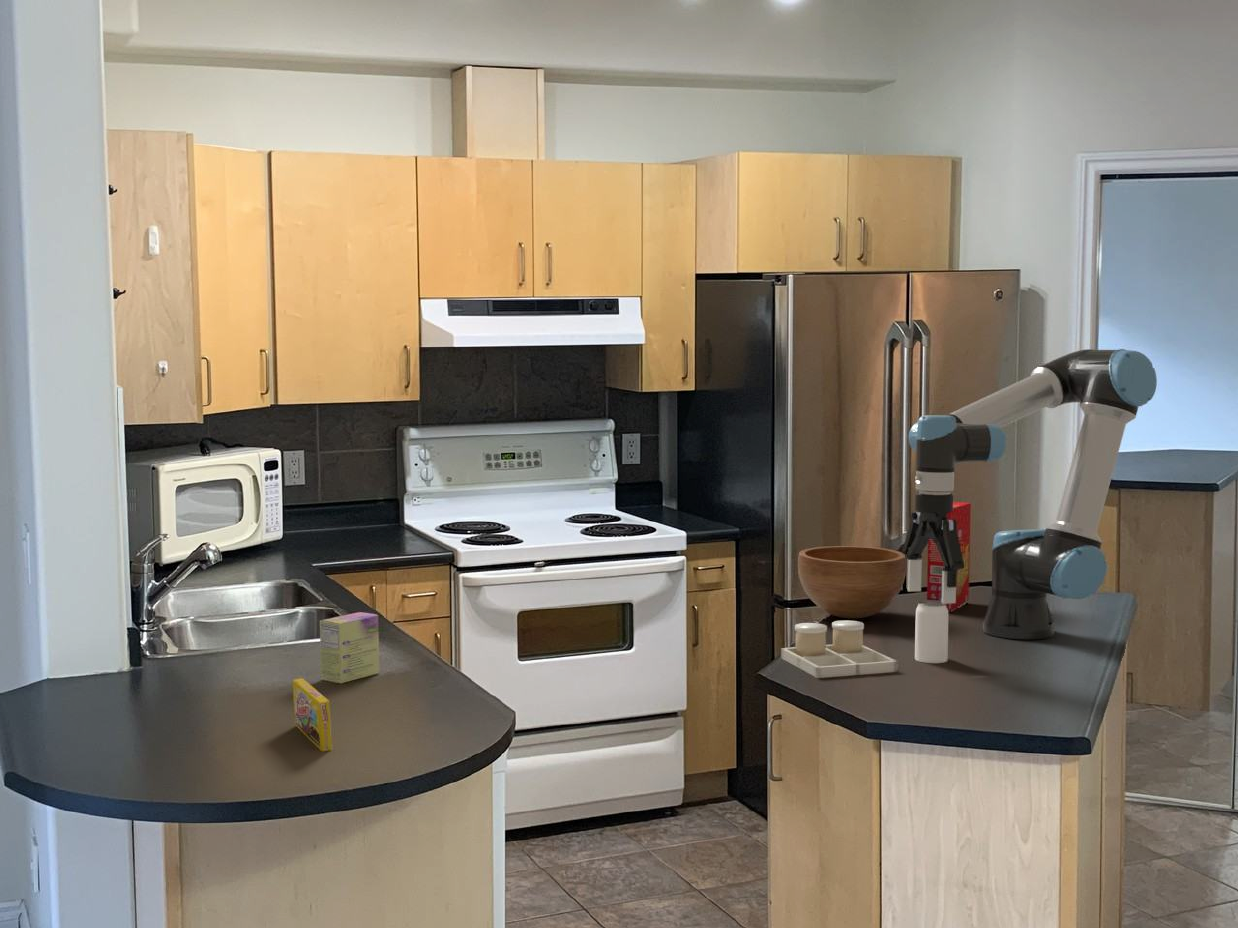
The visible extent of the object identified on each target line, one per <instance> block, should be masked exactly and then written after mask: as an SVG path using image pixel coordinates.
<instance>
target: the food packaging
mask: <svg viewBox="0 0 1238 928" xmlns="http://www.w3.org/2000/svg"><path fill="white" fill-rule="evenodd" d="M971 505H972V504H971V502H961V501H960V502H958V501H953V511H952V512H951V513H948V514H947V520H956V522H957V534H958V539H959V543H960V548H961V553H962V557H963V562H964V568H963V569H959V570H958V571H957V583H956V603H948V604H946V607H947V609H948V612H950V611H951V610H953V609H955V608H957V607H958V606H960V605H961V604H963V603H964V602H966V601H968V600H969V599H970V598H969V595H970V593H969V592H970V589H969V588H970V560H971V559H970V557H971V556H970V555H971V511H972V510H971V509H972V507H971ZM949 532H950V531H949ZM943 536H944V535H943ZM949 565H950V564H949ZM943 568H944V564H943V561H942V559H941V556H940V553H939V550H938V548H937V545H936V543H935V542H933V540H932V539H929V540H928V542H927V573H926V574H927V579H926V580H927V583H926V586H927V587H926V600H934V601H941V600H942V569H943Z"/></svg>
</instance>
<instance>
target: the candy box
mask: <svg viewBox="0 0 1238 928" xmlns="http://www.w3.org/2000/svg"><path fill="white" fill-rule="evenodd" d="M292 692H293V693H292V695H293V698H292V699H293V709H294V722H295V723H294V724H295V725H294V726H295V727H297V729H298V730H300V731H301V732H302V734H304V735H305V736H306V737H307V739H308V740H310V741H311V742H312V743H313V744H314V745H315V746H316V748H318V749H319V750H320V752H328V751H332V750H333V742H332V741H333V740H332V739H333V738H332V723H331V709H330V708H331V707H330V700H329V699H328V698H327V697H325V696H324V695H323V694H322V693H321V692H319V691H318V690H317V689H316V688H315V687H314V686H312V685H311V684H310V683H309V682H308V681H306V680H305V679H304V678H303V677H301V678H296V679H292Z"/></svg>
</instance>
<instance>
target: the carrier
mask: <svg viewBox="0 0 1238 928" xmlns="http://www.w3.org/2000/svg"><path fill="white" fill-rule="evenodd" d="M780 659H781V660H783V661H786V662H787V663H789V664H790V665H792V666H795V667H796V668H798V669H800V670H801V671H802V672H805V673H807V674H809V675H810V676H813V677H814V678H816V679H825V678H836V677H849V676H851V677H852V676H864V675H874V674H876V675H877V674H885V673H887V674H888V673H898V670H899V668H898V664H899V663H898V660H896V659H894V658H892V657H889V656H887V655H885V654H883V653H880V652H878V651H876V650H874V649H873V648H872V649H871V648H870V647H867V646H866V645H864V644H863V652H861V653H848V654H838V653H836V652H834V651H833V643H832V644H826V655H821V656H808V657H801V656H799V655H797V654H796V646H794V647H781V648H780Z"/></svg>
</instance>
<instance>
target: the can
mask: <svg viewBox="0 0 1238 928" xmlns="http://www.w3.org/2000/svg"><path fill="white" fill-rule="evenodd" d="M914 634H915V635H914V660H915V661H917V662H921V663H925V664H941V663H942V664H943V663H946V662H948V657H949V655H948V653H949V652H948V651H949V647H948V646H949V613H948V609H947V607H946V604H943V603H941V601H934V600H927V599H926V600H920V601H918V602H917V607H916V609H915V630H914Z"/></svg>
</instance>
